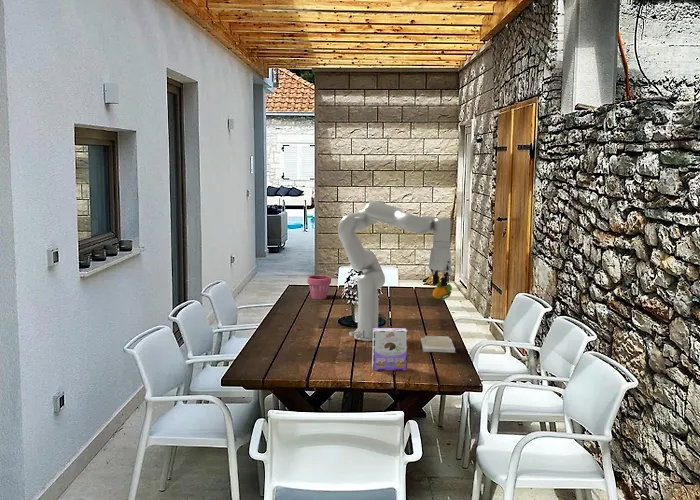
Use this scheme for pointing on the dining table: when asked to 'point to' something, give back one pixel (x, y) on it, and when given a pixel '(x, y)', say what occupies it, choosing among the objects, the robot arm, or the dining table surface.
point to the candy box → (389, 349)
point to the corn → (442, 291)
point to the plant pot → (319, 286)
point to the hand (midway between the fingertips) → (439, 284)
